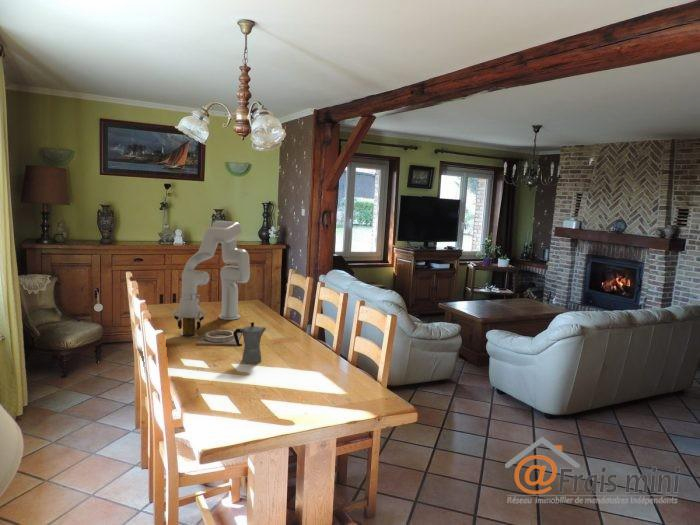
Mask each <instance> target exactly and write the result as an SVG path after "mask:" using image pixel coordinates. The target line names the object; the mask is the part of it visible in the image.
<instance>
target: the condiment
mask: <svg viewBox="0 0 700 525" xmlns="http://www.w3.org/2000/svg"><path fill="white" fill-rule="evenodd" d="M179 335H180V336H181V337H183V338H185V339H189V338H195V337H199V335H198V334H197V333H196V318H182V333H179Z"/></svg>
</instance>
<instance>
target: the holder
mask: <svg viewBox="0 0 700 525" xmlns="http://www.w3.org/2000/svg"><path fill="white" fill-rule="evenodd" d="M233 333H234V331H232V330H229V329H228V330H227V329H215V330H210V331H204V332H203V333H202V334H201V335H200V336H199V338H198V339H197V341H196V342H195V345H196V346H229V347H231V346H233V347H235V346H236V347H238V346H237V344H236V341H235V338H234V335H233ZM237 335H238V340H239V341H240V340H241V338H242V337H243V333H237Z"/></svg>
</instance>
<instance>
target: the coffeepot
mask: <svg viewBox="0 0 700 525" xmlns="http://www.w3.org/2000/svg"><path fill="white" fill-rule="evenodd" d="M266 330H267V328H266V327H264V326H257V325H255V322H254V321H253V322H252V321H251V322H250V325H249V326H245V327H242V328H235V330H234V331H233V332H234V333H233V335H234V338H235V341H236V344H237V346H236V347H242V345H243V344H244V347H243V352H242V354H243V355H242V358H241V362H243V363H245V364H250V365H251V364H258V363H260V362H261V361H262V354H261V346H260V343H261V339H262V336H263V334H264V332H265V331H266ZM237 333H242V337H243V343H240V340H238V335H237Z"/></svg>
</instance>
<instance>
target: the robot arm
mask: <svg viewBox="0 0 700 525" xmlns="http://www.w3.org/2000/svg"><path fill="white" fill-rule="evenodd" d="M242 231H243V230H242V225H241V223H239V222H237V221H229V220H228V221H227V220H215V221H213V222H212V223H211V226H210V227H208V228H206V230H205V232H204V235H203V237H202V240H201V243H200V245H199V249H198V251H197V252H196V253H194V254H193V255H192V256H191V257H190V258H189V259H188V260H187V261H186V263H185V264H184V265H185V266H184V268H183V270H182V273H181V274H182V275H181V298H180V299H179V304H178V305H179V307H178V309H177V310H175V311H172V313H171V315H173V317H174V319H175V320H176V322H177V328H178V330H181V329H183V318H195V320H196V330H199V329H200V328H201V322H202V321H203V320H204V318H205V317H206V315H207V313H206V312H204V311H203V310H201V306H200V299H199V298H200V296H201V294H200V293H199V294H198V286H205V285H207V284H209V282H210V280H211V278H210V274H209V273H208V272H207V271H204V270H198V269H195V268H196V267H197V266H198V265H199V264H201V263H202V262H204V261H207V260H209V259H212V258H214V256H215V253H216V250H217V248H218V244H221V259H222V261H223V263H224V264H227V265H225V266H223V267H221V269H220V273H219V274H220V280H221V313H220V314H219V315H218V318H219V319H221V320H224V321H233V320H238V319H241V314H239V313H238V312H239V286H238V284H245V283H248V282H249V280H250V277H251V276H250V275H251V269H250V268H251V266H250V254H249V252H248V251H247V250H246V249H244V248H238V247H237V238H239V236H240V235H241V234H242ZM237 283H238V284H237ZM200 315H202V316H200Z"/></svg>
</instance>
